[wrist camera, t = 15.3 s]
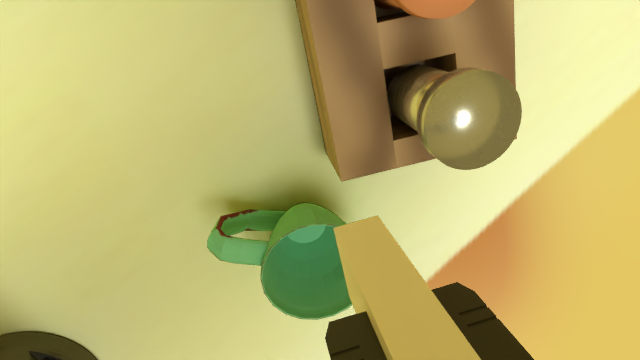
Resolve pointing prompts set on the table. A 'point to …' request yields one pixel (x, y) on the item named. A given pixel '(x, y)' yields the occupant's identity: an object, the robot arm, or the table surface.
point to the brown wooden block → (390, 71)
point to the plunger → (457, 112)
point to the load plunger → (427, 7)
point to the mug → (289, 257)
